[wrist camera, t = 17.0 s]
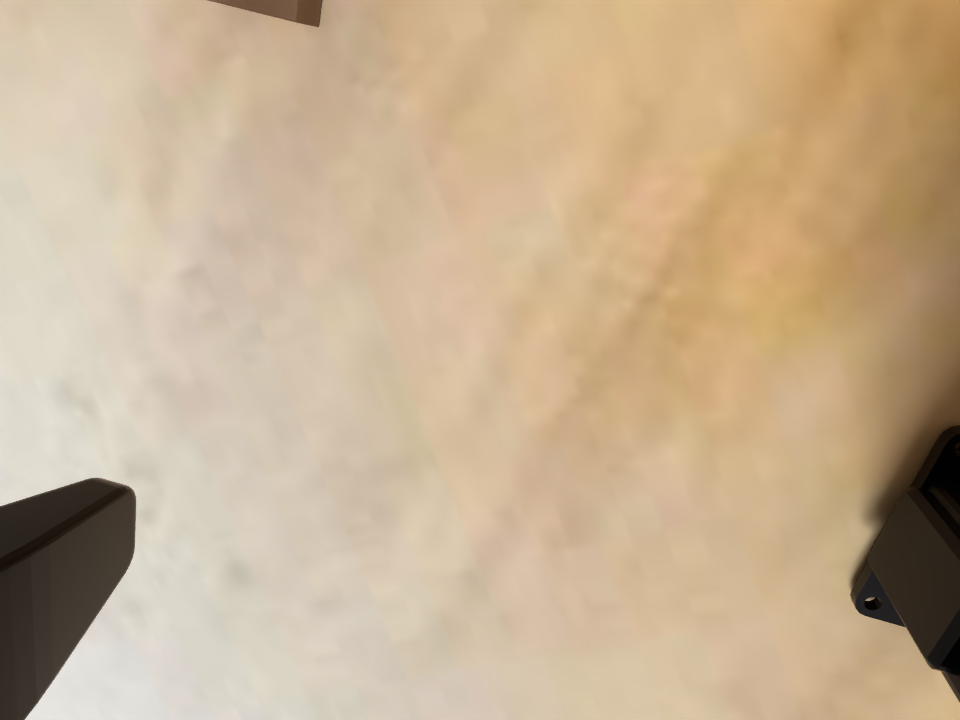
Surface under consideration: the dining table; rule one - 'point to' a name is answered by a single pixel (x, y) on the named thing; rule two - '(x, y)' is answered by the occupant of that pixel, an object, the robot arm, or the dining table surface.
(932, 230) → the dining table surface
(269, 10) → the walnut base board
